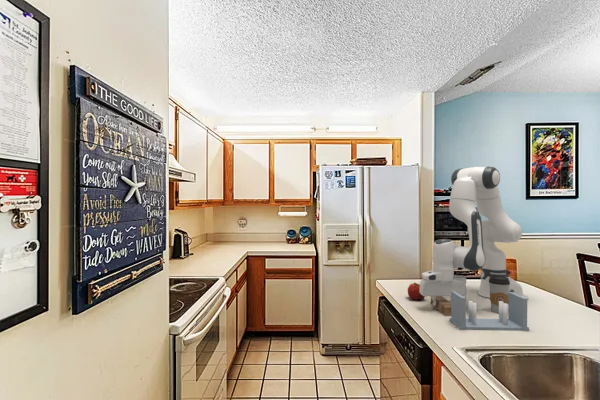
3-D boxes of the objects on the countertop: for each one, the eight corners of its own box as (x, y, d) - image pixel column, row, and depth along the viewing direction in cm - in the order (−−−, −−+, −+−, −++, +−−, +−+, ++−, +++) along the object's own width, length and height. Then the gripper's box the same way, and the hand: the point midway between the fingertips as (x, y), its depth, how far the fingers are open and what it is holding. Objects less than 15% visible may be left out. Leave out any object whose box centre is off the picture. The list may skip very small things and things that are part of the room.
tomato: (418, 296, 180) (418, 280, 180) (430, 301, 172) (430, 284, 172) (403, 297, 178) (403, 281, 178) (414, 302, 169) (414, 286, 169)
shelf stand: (513, 321, 143) (513, 292, 143) (529, 330, 133) (529, 298, 133) (449, 320, 144) (449, 291, 144) (459, 329, 134) (459, 298, 134)
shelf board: (430, 303, 167) (430, 295, 167) (441, 303, 167) (441, 295, 167) (445, 316, 149) (445, 306, 149) (456, 316, 149) (456, 307, 149)
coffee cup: (490, 313, 153) (490, 278, 153) (487, 307, 161) (487, 275, 161) (511, 315, 150) (512, 280, 150) (507, 309, 158) (507, 276, 158)
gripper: (463, 273, 161) (463, 303, 161) (418, 273, 162) (418, 303, 162) (469, 276, 155) (469, 308, 155) (422, 276, 156) (422, 307, 156)
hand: (442, 305), depth 158 cm, fingers closed on shelf board, 5 cm apart
